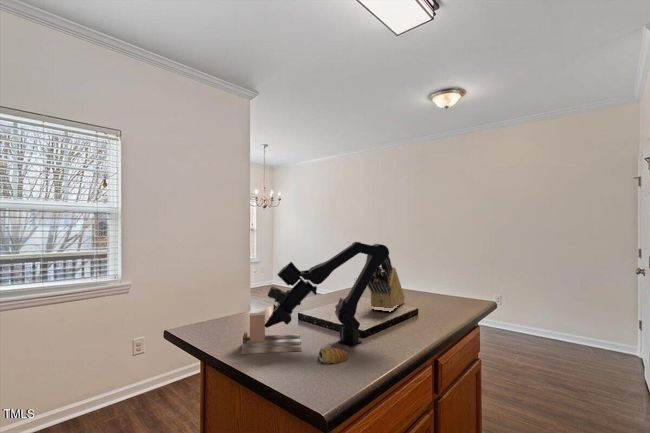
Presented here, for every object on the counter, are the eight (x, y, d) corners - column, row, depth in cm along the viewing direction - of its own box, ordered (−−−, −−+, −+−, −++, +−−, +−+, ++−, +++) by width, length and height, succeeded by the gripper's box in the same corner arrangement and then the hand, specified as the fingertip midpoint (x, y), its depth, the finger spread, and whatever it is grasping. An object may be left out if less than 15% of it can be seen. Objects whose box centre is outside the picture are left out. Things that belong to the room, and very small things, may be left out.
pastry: (344, 354, 108) (344, 342, 108) (350, 362, 101) (351, 350, 101) (317, 357, 105) (317, 345, 105) (322, 366, 99) (322, 353, 99)
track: (299, 340, 120) (299, 328, 120) (301, 350, 110) (301, 337, 110) (244, 343, 117) (245, 330, 117) (241, 353, 107) (242, 340, 107)
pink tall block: (265, 338, 116) (265, 308, 116) (264, 344, 111) (264, 312, 111) (250, 339, 115) (250, 309, 115) (249, 344, 110) (249, 313, 110)
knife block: (363, 315, 154) (363, 251, 155) (385, 300, 185) (385, 246, 186) (386, 318, 148) (386, 252, 149) (405, 302, 180) (404, 247, 180)
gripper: (281, 274, 124) (251, 304, 122) (281, 283, 105) (246, 318, 103) (301, 294, 125) (272, 324, 123) (305, 307, 106) (271, 342, 104)
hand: (265, 326), depth 113 cm, fingers closed, pressing on pink tall block
